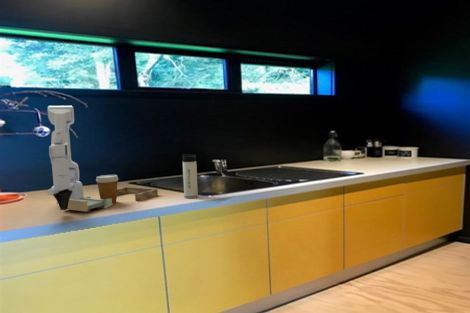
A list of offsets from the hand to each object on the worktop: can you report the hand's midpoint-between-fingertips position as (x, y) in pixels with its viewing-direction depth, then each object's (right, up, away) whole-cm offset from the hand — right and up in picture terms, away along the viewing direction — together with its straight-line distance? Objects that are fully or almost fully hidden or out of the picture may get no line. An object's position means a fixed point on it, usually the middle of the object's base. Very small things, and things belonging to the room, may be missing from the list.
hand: (63, 209), depth 137 cm
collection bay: (+17, +1, +31) cm, 35 cm away
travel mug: (+46, +2, +27) cm, 53 cm away
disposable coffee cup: (+11, 0, +20) cm, 22 cm away
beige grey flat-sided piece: (+5, -1, +10) cm, 11 cm away
